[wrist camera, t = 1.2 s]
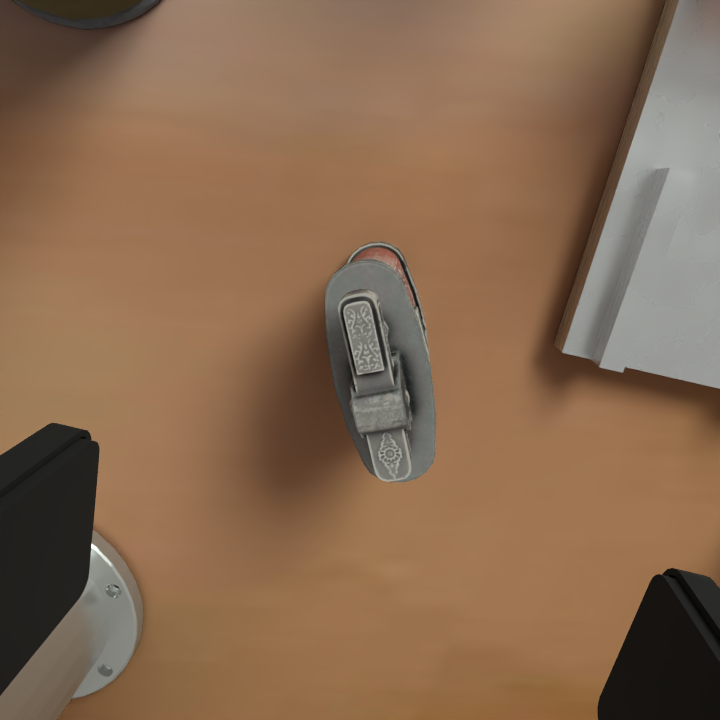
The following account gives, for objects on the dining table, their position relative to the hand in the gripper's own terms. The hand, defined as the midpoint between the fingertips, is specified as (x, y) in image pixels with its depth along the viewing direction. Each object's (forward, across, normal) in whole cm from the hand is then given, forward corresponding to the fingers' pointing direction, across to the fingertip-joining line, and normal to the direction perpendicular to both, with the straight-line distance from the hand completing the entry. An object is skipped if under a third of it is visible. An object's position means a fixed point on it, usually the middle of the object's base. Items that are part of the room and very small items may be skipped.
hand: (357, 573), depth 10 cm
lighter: (+18, 0, 0) cm, 18 cm away
